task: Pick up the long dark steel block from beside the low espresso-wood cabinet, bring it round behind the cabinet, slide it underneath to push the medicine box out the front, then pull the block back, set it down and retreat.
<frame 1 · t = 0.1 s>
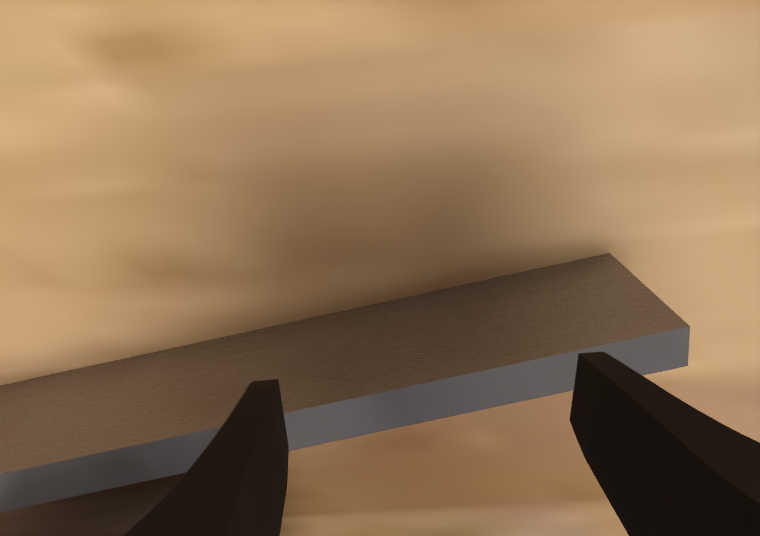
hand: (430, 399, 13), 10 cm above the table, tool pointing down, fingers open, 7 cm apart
steel block: (299, 334, 24), on the table
low cabinet: (174, 530, 28), on the table
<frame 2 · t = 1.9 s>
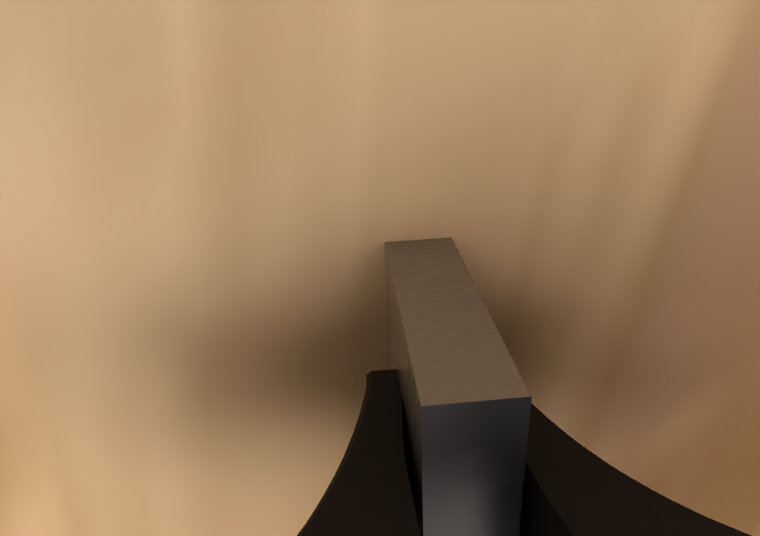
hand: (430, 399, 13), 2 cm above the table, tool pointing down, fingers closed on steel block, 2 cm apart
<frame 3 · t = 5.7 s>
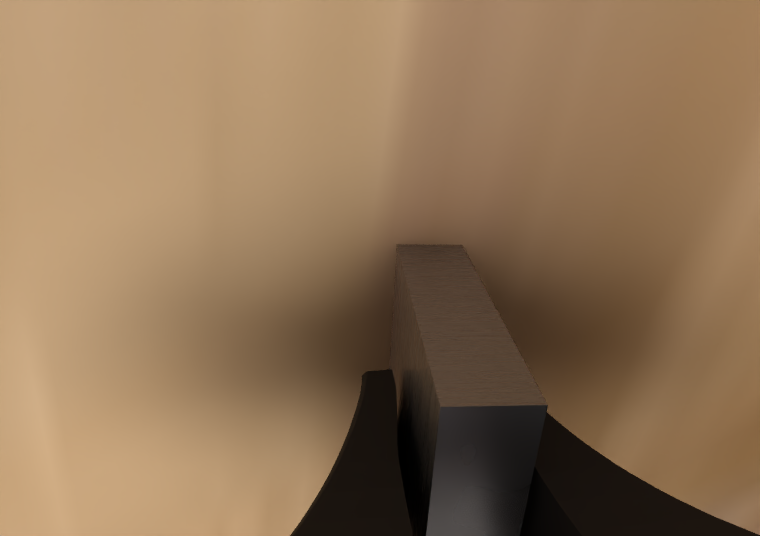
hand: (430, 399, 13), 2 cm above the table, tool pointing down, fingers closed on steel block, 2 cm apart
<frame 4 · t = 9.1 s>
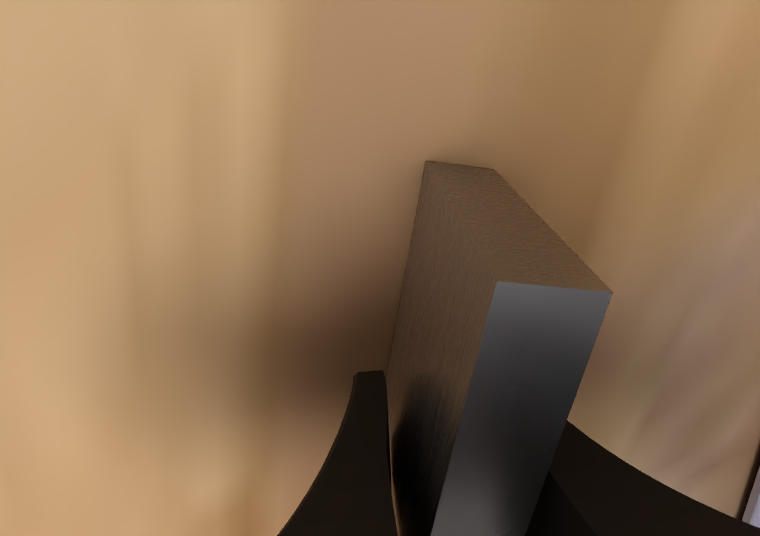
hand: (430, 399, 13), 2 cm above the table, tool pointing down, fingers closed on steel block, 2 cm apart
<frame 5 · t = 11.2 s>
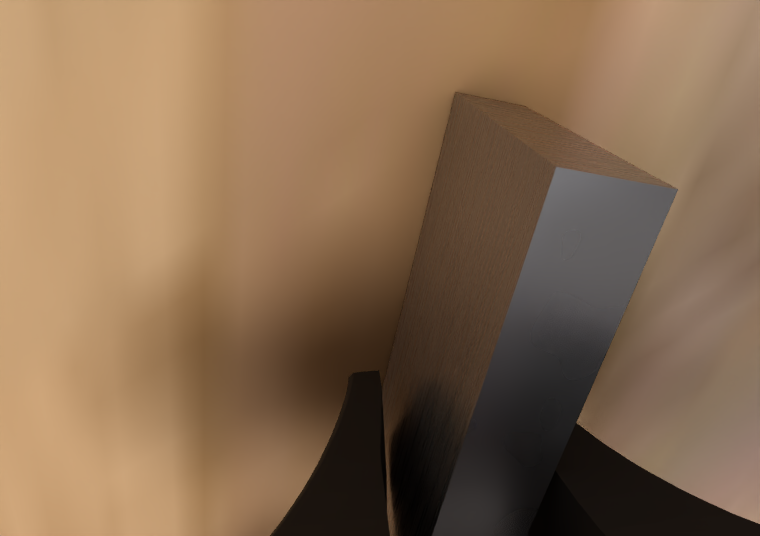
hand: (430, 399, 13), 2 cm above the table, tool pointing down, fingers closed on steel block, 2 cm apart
steel block: (372, 533, 18), on the table, touching gripper, medicine box
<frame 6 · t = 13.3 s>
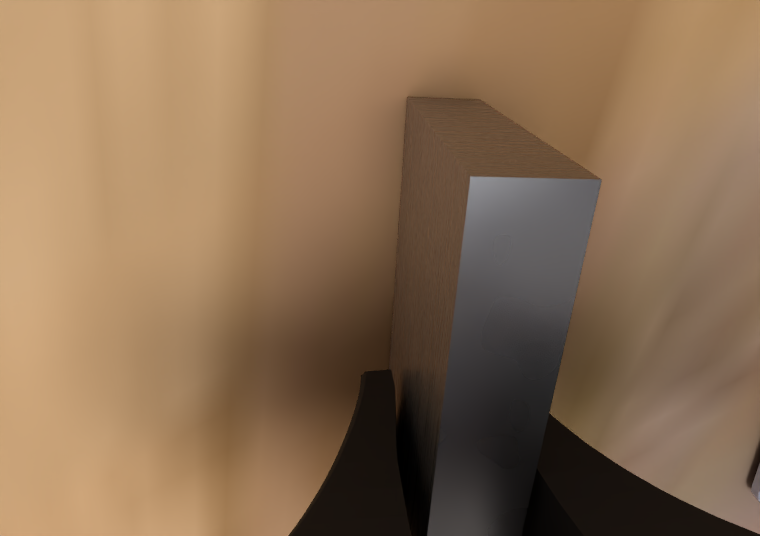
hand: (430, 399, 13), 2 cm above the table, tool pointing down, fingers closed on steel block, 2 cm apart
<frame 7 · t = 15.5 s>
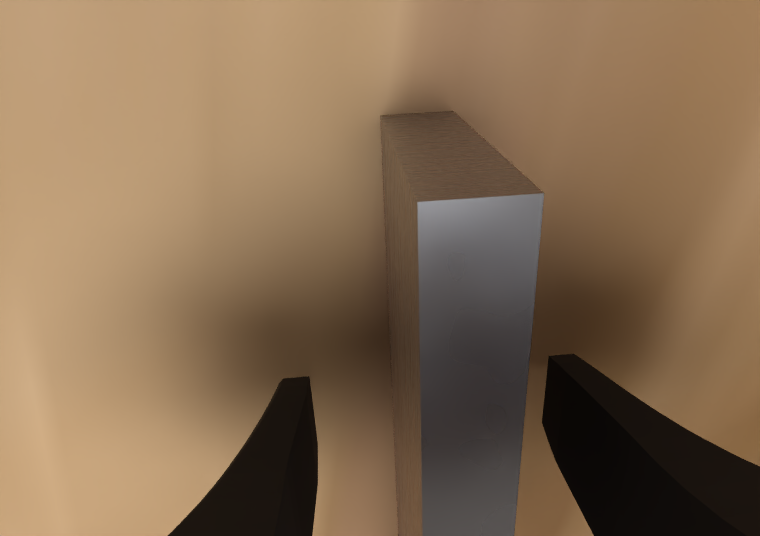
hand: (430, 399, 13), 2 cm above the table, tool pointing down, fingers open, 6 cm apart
steel block: (422, 533, 18), on the table
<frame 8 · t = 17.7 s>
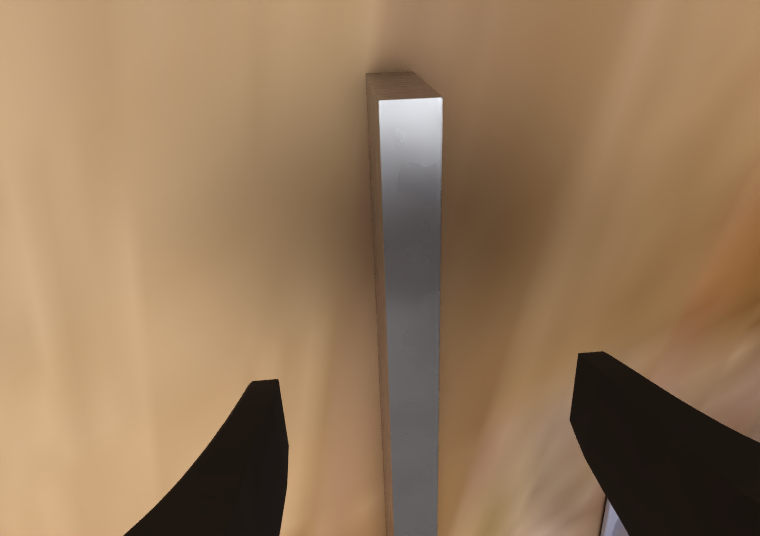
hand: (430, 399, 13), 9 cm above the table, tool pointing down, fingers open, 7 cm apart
steel block: (397, 387, 25), on the table
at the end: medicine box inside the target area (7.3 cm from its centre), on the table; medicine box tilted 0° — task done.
